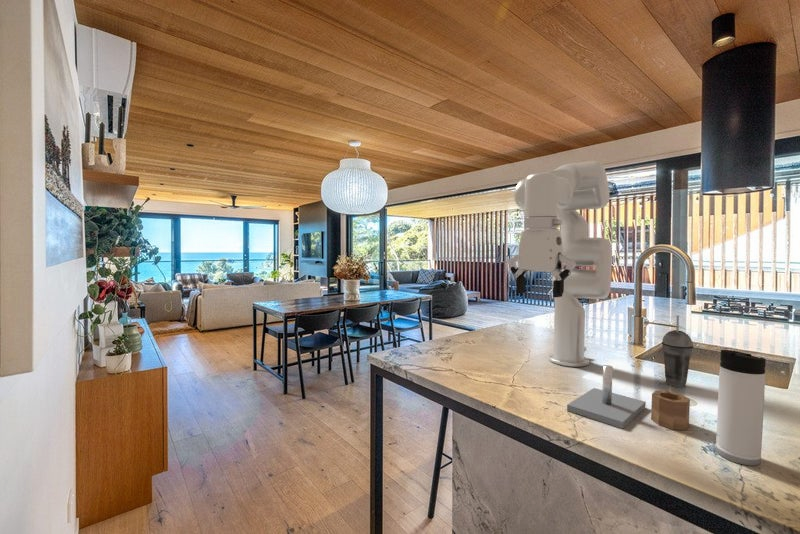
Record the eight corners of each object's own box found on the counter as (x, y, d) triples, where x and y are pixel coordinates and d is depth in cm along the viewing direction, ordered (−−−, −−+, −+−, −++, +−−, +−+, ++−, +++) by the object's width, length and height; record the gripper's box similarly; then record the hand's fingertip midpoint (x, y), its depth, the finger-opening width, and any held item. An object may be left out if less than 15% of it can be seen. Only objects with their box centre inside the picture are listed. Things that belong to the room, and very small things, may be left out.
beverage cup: (693, 384, 107) (696, 314, 106) (690, 391, 102) (693, 318, 101) (662, 378, 112) (664, 311, 111) (657, 385, 107) (660, 315, 106)
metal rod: (603, 400, 92) (605, 364, 92) (612, 403, 91) (613, 366, 90) (600, 403, 91) (601, 366, 90) (609, 405, 89) (610, 368, 89)
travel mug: (705, 448, 73) (709, 347, 72) (736, 447, 74) (741, 346, 73) (736, 467, 67) (742, 356, 66) (770, 465, 67) (776, 355, 66)
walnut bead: (656, 413, 88) (657, 388, 88) (690, 423, 84) (691, 396, 83) (648, 422, 84) (649, 395, 84) (683, 432, 79) (684, 404, 79)
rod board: (593, 393, 100) (593, 387, 100) (645, 407, 92) (645, 401, 91) (566, 410, 90) (567, 404, 90) (622, 428, 81) (622, 422, 81)
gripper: (583, 224, 88) (581, 297, 88) (517, 227, 101) (516, 290, 102) (567, 222, 83) (565, 300, 84) (501, 226, 96) (500, 292, 97)
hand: (538, 294), depth 93 cm, fingers open, 9 cm apart
